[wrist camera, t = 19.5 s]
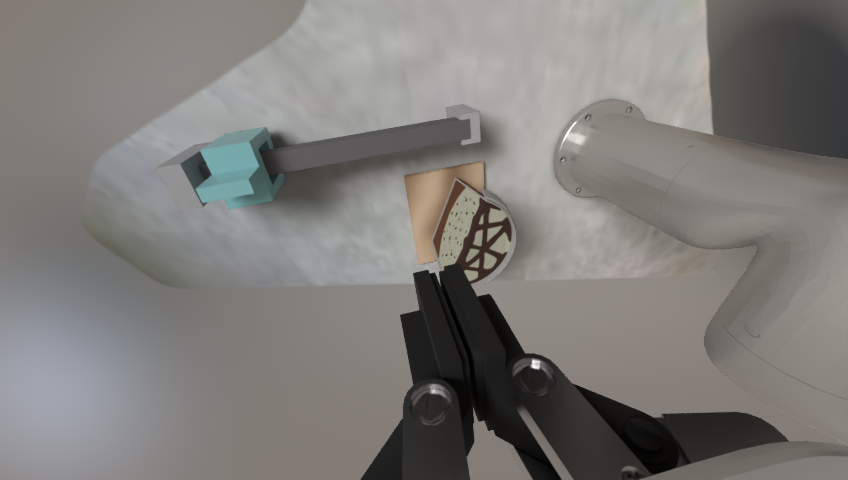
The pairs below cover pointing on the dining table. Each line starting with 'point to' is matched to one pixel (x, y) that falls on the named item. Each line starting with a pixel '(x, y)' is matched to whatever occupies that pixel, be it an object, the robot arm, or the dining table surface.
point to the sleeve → (239, 170)
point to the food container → (474, 233)
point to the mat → (435, 201)
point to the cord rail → (324, 152)
